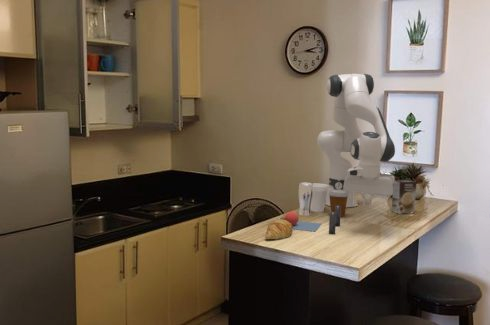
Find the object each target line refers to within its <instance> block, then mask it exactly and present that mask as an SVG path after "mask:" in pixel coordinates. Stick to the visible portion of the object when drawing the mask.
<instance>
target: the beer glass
mask: <svg viewBox="0 0 490 325" xmlns="http://www.w3.org/2000/svg"><path fill="white" fill-rule="evenodd" d="M313 183H314V182H313ZM313 183H312V182H305V181H304V182H299V184H298V185H299V186H298V202H299V210H298V216H299V215H300V216H304V217H305V216H306V217H307V216H308V217H309V216H312V211H311V203H312V198H313Z"/></svg>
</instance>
